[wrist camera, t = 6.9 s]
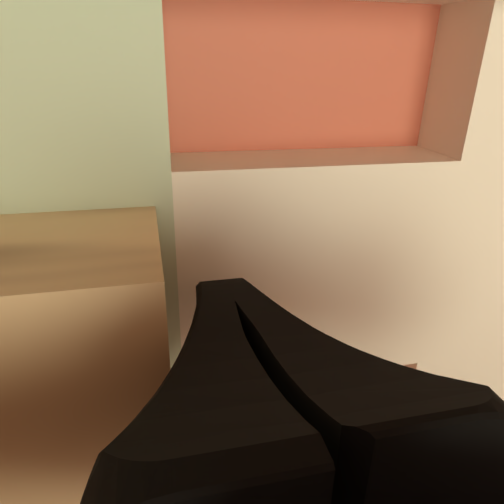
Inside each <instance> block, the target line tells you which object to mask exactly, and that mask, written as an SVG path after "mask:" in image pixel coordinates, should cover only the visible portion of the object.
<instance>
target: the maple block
mask: <svg viewBox="0 0 504 504" xmlns="http://www.w3.org/2000/svg"><path fill="white" fill-rule="evenodd" d="M169 371H170V356H169V341H168V327H167V312H166V298H165V284H164V275H163V266H162V258H161V250H160V241H159V233H158V225H157V216H156V208H155V206H148V207H130V208H111V209H93V210H74V211H56V212H38V213H19V214H1V215H0V504H80V502H81V499H82V496H83V493H84V490H85V487H86V484H87V481H88V479H89V476H90V474H91V471H92V468H93V466H94V463H95V461H96V459H97V456H98V454H99V453H100V452H101V451H102V450H103V449H104V448H105V447H106V446H107V445H108V444H110V443H111V442H112V441H113V440H114V439H115V438H116V437H117V436H118V435H119V434H120V433H121V432H122V431H123V430H124V429H125V428H126V427H127V426H128V425H129V424H130V423H131V422H132V421H133V419H134V418H135V417H136V416H137V415H138V413H139V412H140V411H141V410H142V409H143V407H144V406H145V405H146V404H147V403H148V401H149V400H150V399H151V398H152V396H153V395H154V394H155V392H156V391H157V390H158V388H159V387H160V385H161V384H162V382H163V381H164V379H165V378H166V376H167V374H168V373H169Z"/></svg>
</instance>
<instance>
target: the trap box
mask: <svg viewBox="0 0 504 504" xmlns="http://www.w3.org/2000/svg"><path fill="white" fill-rule="evenodd" d="M148 206H155V208H156V216H157V225H158V233H159V241H160V250H161V258H162V266H163V275H164V284H165V298H166V312H167V327H168V341H169V356H170V370H171V368H172V366H173V364H174V363H175V361H176V359H177V357H178V355H179V353H180V351H181V349H182V347H183V344H184V342H185V340H186V337H187V334H188V332H189V329H190V327H191V324H192V320H193V316H194V312H195V309H196V285H197V284H198V283H199V282H202V281H212V280H223V279H234V278H244V279H245V280H246V281H248V282H249V283H250V284H252V285H253V286H254V287H256V288H257V289H258V290H260V291H261V292H262V293H264V294H265V295H266V296H267V297H269V298H270V299H271V300H273V301H274V302H276V303H277V304H278V305H280V306H281V307H283V308H284V309H285V310H287V311H288V312H290V313H291V314H293V315H294V316H296V317H297V318H299V319H301V320H302V321H304V322H306V323H307V324H309V325H311V326H312V327H314V328H316V329H317V330H319V331H321V332H323V333H325V334H327V335H329V336H331V337H333V338H335V339H337V340H339V341H341V342H343V343H345V344H347V345H350V346H352V347H354V348H357V349H359V350H361V351H364V352H367V353H369V354H372V355H374V356H377V357H380V358H382V359H385V360H388V361H391V362H394V363H397V364H400V365H403V366H406V367H410V368H414V369H417V370H421V371H424V372H428V373H431V374H435V375H439V376H444V377H449V378H453V379H458V380H463V381H468V382H472V383H477V384H482V385H486V386H489V387H490V388H491V389H492V390H493V391H494V392H495V393H496V394H497V395H498V396H499V397H500V398H501V399H502V400H503V401H504V0H0V215H1V214H19V213H38V212H56V211H74V210H93V209H111V208H130V207H148Z"/></svg>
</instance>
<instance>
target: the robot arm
mask: <svg viewBox="0 0 504 504" xmlns="http://www.w3.org/2000/svg"><path fill="white" fill-rule="evenodd" d="M80 504H504V401H503V400H502V399H501V398H500V397H499V396H498V395H497V394H496V393H495V392H494V391H493V390H492V389H491V388H490V387H489V386H486V385H482V384H477V383H472V382H468V381H463V380H458V379H453V378H449V377H444V376H439V375H435V374H431V373H428V372H424V371H421V370H417V369H414V368H410V367H406V366H403V365H400V364H397V363H394V362H391V361H388V360H385V359H382V358H380V357H377V356H374V355H372V354H369V353H367V352H364V351H361V350H359V349H357V348H354V347H352V346H350V345H347V344H345V343H343V342H341V341H339V340H337V339H335V338H333V337H331V336H329V335H327V334H325V333H323V332H321V331H319V330H317V329H316V328H314V327H312V326H311V325H309V324H307V323H306V322H304V321H302V320H301V319H299V318H297V317H296V316H294V315H293V314H291V313H290V312H288V311H287V310H285V309H284V308H283V307H281V306H280V305H278V304H277V303H276V302H274V301H273V300H271V299H270V298H269V297H267V296H266V295H265V294H264V293H262V292H261V291H260V290H258V289H257V288H256V287H254V286H253V285H252V284H250V283H249V282H248V281H246V280H245V279H244V278H234V279H223V280H212V281H202V282H199V283H198V284H197V285H196V309H195V312H194V316H193V320H192V324H191V327H190V329H189V332H188V334H187V337H186V340H185V342H184V344H183V347H182V349H181V351H180V353H179V355H178V357H177V359H176V361H175V363H174V364H173V366H172V368H171V370H170V371H169V373H168V374H167V376H166V378H165V379H164V381H163V382H162V384H161V385H160V387H159V388H158V390H157V391H156V392H155V394H154V395H153V396H152V398H151V399H150V400H149V401H148V403H147V404H146V405H145V406H144V407H143V409H142V410H141V411H140V412H139V413H138V415H137V416H136V417H135V418H134V419H133V421H132V422H131V423H130V424H129V425H128V426H127V427H126V428H125V429H124V430H123V431H122V432H121V433H120V434H119V435H118V436H117V437H116V438H115V439H114V440H113V441H112V442H111V443H110V444H108V445H107V446H106V447H105V448H104V449H103V450H102V451H101V452H100V453H99V454H98V456H97V459H96V461H95V463H94V466H93V468H92V471H91V474H90V476H89V479H88V481H87V484H86V487H85V490H84V493H83V496H82V499H81V502H80Z"/></svg>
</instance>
